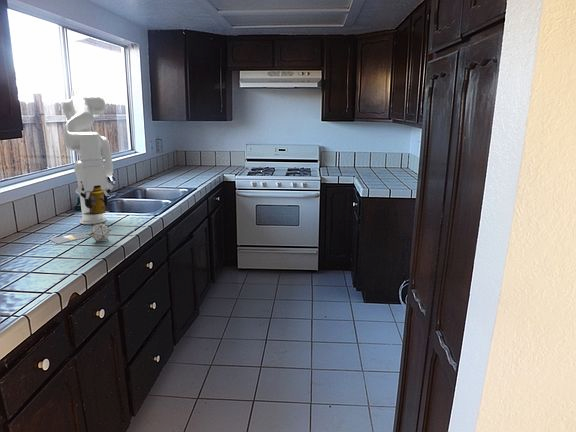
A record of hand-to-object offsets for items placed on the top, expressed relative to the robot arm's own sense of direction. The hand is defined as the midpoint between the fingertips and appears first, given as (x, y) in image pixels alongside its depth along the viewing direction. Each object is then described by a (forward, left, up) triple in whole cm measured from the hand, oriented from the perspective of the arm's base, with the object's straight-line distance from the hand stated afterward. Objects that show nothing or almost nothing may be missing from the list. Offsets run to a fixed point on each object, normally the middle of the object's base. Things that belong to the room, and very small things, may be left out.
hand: (96, 206), depth 178 cm
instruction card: (-15, -7, -15) cm, 23 cm away
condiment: (0, -1, -3) cm, 3 cm away
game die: (0, 0, -16) cm, 16 cm away
